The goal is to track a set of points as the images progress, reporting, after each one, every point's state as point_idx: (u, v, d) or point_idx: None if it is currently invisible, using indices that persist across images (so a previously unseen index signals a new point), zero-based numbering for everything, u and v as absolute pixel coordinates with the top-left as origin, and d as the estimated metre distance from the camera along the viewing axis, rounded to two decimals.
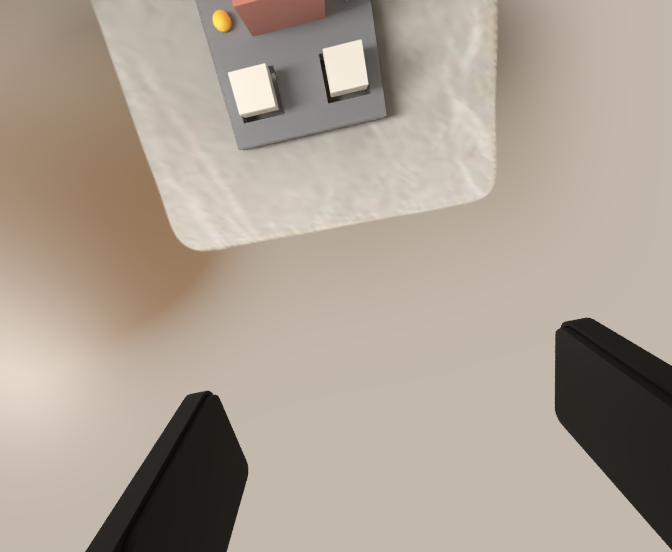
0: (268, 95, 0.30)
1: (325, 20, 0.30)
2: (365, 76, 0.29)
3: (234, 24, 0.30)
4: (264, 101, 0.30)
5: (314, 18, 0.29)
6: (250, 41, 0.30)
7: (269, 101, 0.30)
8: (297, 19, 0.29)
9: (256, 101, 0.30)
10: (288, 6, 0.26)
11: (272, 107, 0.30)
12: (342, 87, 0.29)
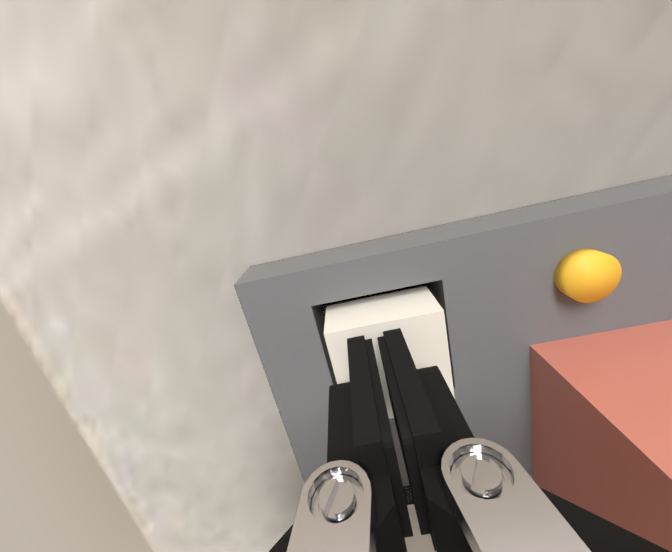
0: None
1: None
2: None
3: (567, 302, 0.10)
4: None
5: (538, 480, 0.13)
6: (519, 339, 0.11)
7: None
8: (549, 469, 0.11)
9: None
10: None
11: None
12: None
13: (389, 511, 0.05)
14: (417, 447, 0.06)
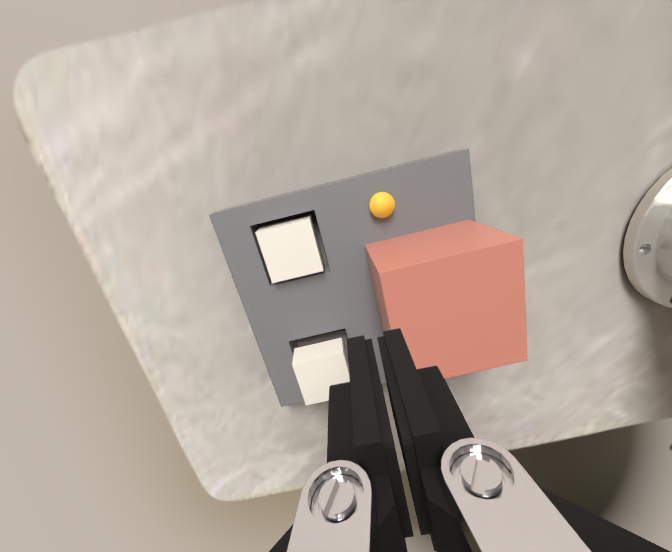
0: (284, 273, 0.21)
1: (381, 335, 0.24)
2: (314, 401, 0.22)
3: (378, 220, 0.21)
4: (276, 268, 0.21)
5: (382, 325, 0.23)
6: (358, 241, 0.21)
7: (277, 275, 0.21)
8: (379, 311, 0.22)
9: (275, 257, 0.21)
10: (386, 324, 0.19)
11: None
12: (300, 377, 0.22)
13: (389, 511, 0.05)
14: (417, 447, 0.06)
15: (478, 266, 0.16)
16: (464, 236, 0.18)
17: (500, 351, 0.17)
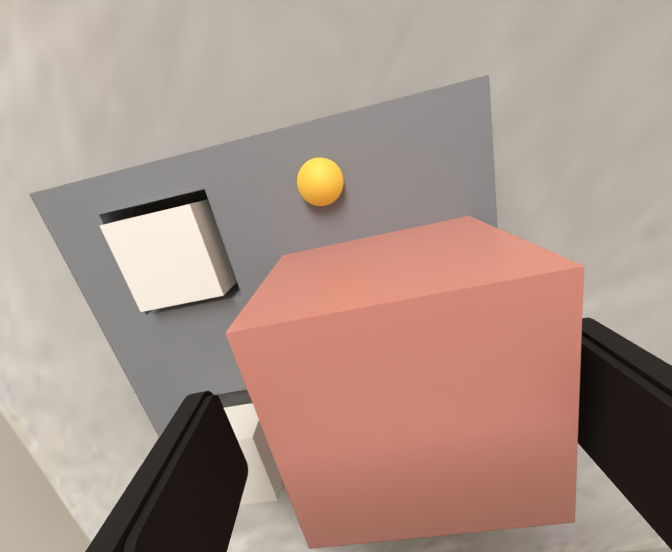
0: (159, 297, 0.12)
1: None
2: None
3: (319, 210, 0.12)
4: (144, 288, 0.12)
5: None
6: (285, 247, 0.12)
7: (147, 299, 0.12)
8: None
9: (140, 270, 0.12)
10: None
11: None
12: None
13: None
14: None
15: (465, 328, 0.06)
16: (447, 249, 0.09)
17: (514, 502, 0.08)
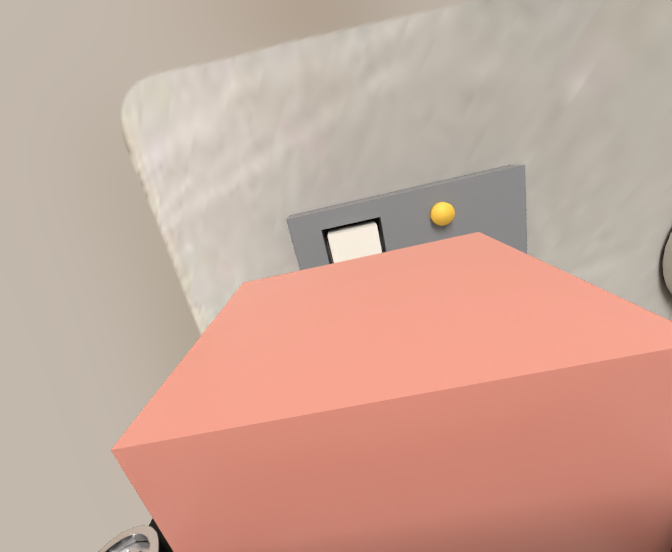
0: None
1: None
2: None
3: (437, 227, 0.23)
4: None
5: None
6: None
7: None
8: None
9: (343, 259, 0.23)
10: None
11: None
12: None
13: None
14: None
15: (508, 435, 0.04)
16: (462, 287, 0.06)
17: None
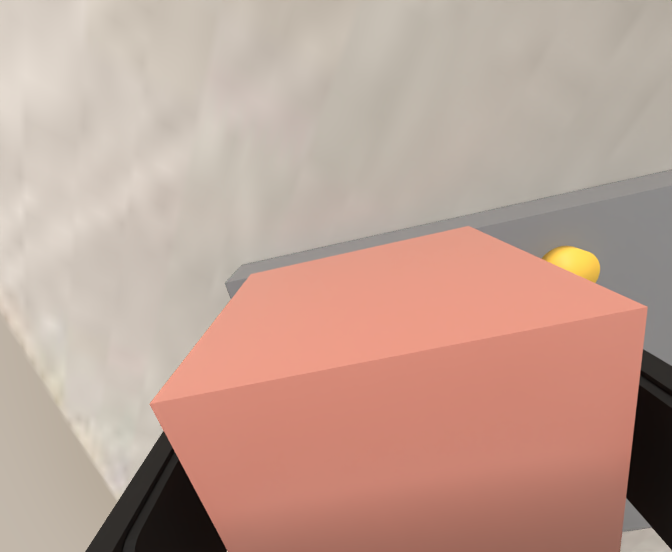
0: None
1: None
2: None
3: None
4: None
5: None
6: None
7: None
8: None
9: None
10: None
11: None
12: None
13: None
14: None
15: (482, 390, 0.05)
16: (449, 272, 0.07)
17: None
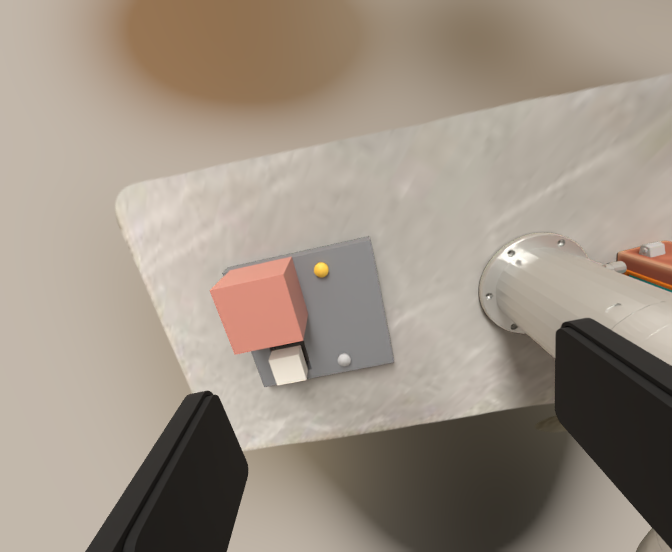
0: None
1: (325, 344, 0.38)
2: (282, 383, 0.37)
3: (320, 277, 0.35)
4: None
5: None
6: (309, 289, 0.36)
7: None
8: None
9: None
10: None
11: None
12: (273, 368, 0.36)
13: None
14: None
15: (262, 288, 0.29)
16: (270, 269, 0.31)
17: (286, 334, 0.31)
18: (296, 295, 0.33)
